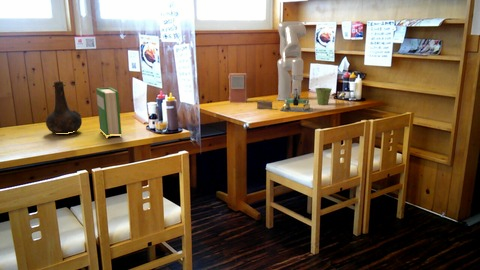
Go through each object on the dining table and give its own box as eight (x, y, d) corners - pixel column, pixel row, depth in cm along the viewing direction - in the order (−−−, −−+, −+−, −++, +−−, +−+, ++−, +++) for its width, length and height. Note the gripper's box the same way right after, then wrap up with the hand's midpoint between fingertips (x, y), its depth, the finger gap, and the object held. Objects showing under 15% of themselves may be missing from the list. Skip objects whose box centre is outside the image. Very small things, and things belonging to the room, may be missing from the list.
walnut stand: (258, 108, 293) (258, 101, 291) (272, 108, 290) (272, 101, 289) (257, 108, 290) (257, 101, 289) (271, 109, 287) (271, 102, 286)
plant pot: (329, 106, 296) (330, 90, 293) (313, 105, 300) (313, 89, 298) (332, 103, 307) (333, 88, 304) (316, 102, 311) (317, 87, 308)
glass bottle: (83, 135, 223) (77, 82, 216) (46, 138, 217) (39, 84, 210) (82, 128, 239) (77, 79, 233) (48, 131, 233) (42, 80, 227)
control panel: (229, 101, 322) (248, 101, 321) (227, 102, 316) (247, 102, 314) (228, 73, 317) (248, 73, 316) (227, 74, 311) (247, 74, 309)
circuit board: (285, 101, 288) (285, 98, 287) (309, 102, 283) (309, 99, 283) (283, 102, 281) (283, 100, 281) (307, 103, 277) (308, 100, 276)
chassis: (283, 107, 292) (283, 97, 290) (312, 109, 286) (312, 98, 285) (280, 111, 281) (280, 100, 279) (310, 112, 275) (310, 101, 274)
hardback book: (121, 137, 218) (117, 91, 212) (107, 139, 215) (102, 92, 209) (114, 130, 233) (110, 87, 227) (100, 132, 230) (96, 88, 224)
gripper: (293, 76, 287) (293, 102, 292) (289, 79, 271) (288, 106, 276) (304, 76, 285) (304, 102, 290) (300, 79, 269) (300, 107, 274)
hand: (296, 104), depth 283 cm, fingers closed on circuit board, 6 cm apart
